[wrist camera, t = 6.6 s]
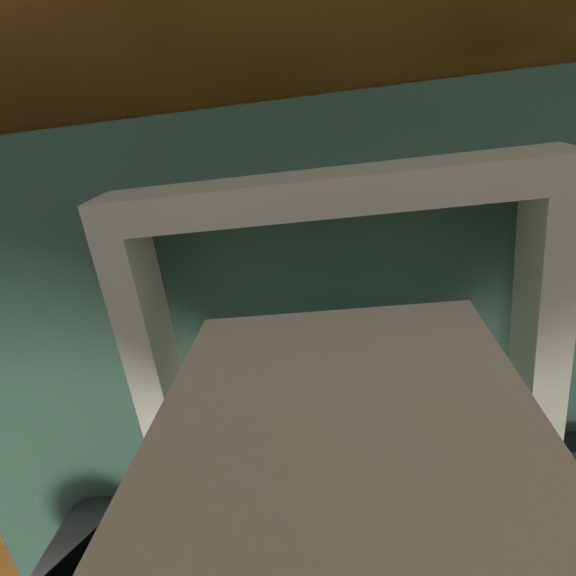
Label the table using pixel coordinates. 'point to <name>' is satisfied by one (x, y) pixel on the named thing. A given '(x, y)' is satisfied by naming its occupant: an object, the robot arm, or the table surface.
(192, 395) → the plug
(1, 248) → the board
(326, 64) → the table surface
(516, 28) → the table surface
